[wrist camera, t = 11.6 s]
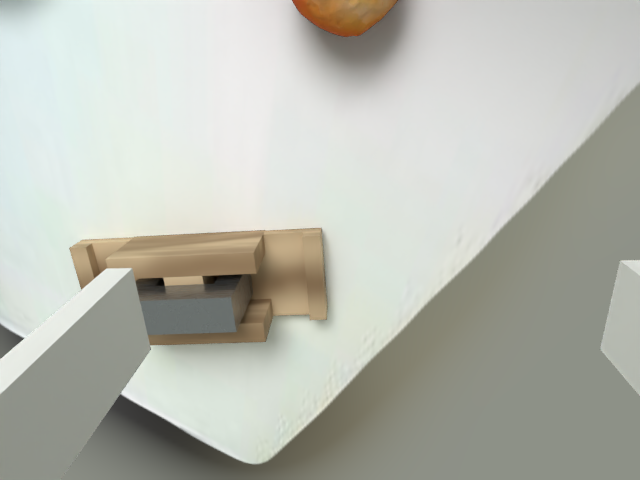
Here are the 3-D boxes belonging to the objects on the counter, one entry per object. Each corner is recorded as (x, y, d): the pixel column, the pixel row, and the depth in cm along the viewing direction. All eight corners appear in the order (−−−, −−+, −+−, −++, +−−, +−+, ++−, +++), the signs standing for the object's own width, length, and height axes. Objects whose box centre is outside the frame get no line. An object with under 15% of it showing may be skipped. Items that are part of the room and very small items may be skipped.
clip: (150, 267, 40) (115, 302, 34) (248, 262, 39) (230, 297, 33) (157, 296, 41) (124, 335, 35) (253, 292, 40) (236, 332, 34)
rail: (81, 239, 41) (45, 262, 36) (321, 227, 39) (317, 249, 34) (103, 316, 44) (72, 347, 39) (327, 308, 42) (325, 339, 37)
